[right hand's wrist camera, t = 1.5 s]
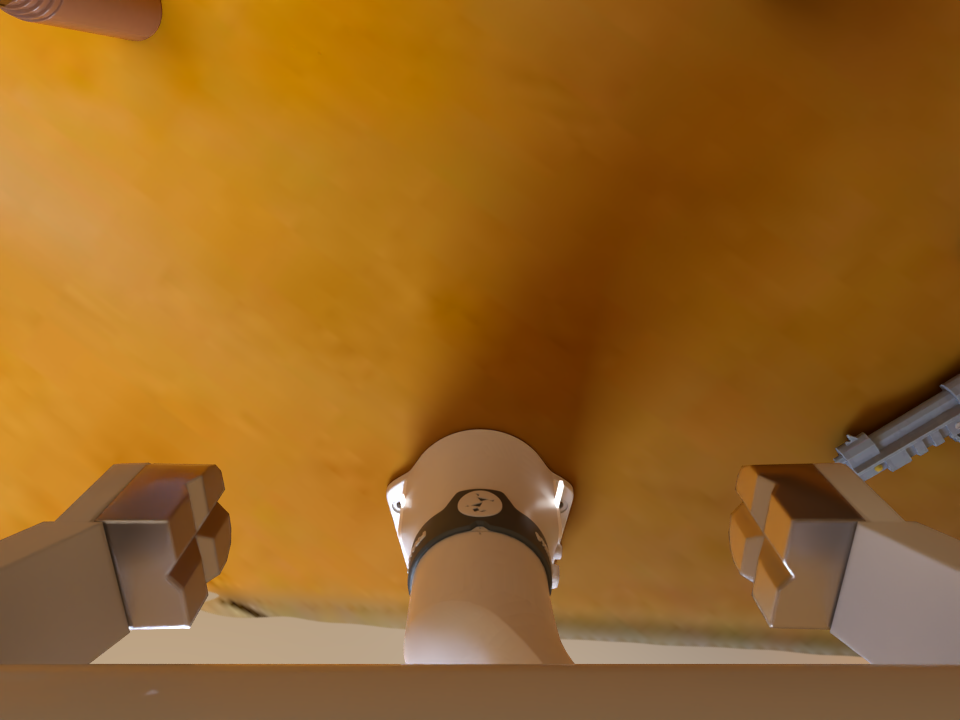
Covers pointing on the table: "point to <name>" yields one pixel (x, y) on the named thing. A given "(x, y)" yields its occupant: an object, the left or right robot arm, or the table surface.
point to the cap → (4, 3)
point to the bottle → (93, 16)
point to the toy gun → (905, 434)
